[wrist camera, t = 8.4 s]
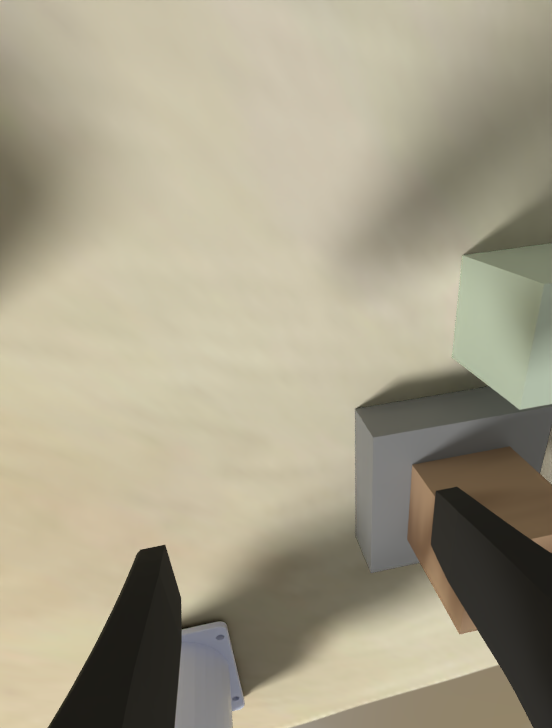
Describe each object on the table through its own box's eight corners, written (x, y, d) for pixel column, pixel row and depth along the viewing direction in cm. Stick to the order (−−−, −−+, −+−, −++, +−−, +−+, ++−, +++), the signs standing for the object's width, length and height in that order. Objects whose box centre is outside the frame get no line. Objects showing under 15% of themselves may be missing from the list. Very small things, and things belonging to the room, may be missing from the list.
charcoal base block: (490, 502, 26) (523, 540, 24) (352, 530, 26) (370, 572, 23) (514, 376, 23) (556, 405, 20) (351, 403, 22) (373, 437, 19)
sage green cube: (543, 341, 21) (634, 388, 17) (450, 356, 21) (519, 409, 16) (564, 240, 19) (675, 264, 15) (461, 254, 19) (543, 284, 14)
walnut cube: (495, 521, 23) (567, 608, 18) (407, 539, 22) (459, 634, 18) (509, 446, 20) (596, 525, 16) (412, 464, 20) (473, 551, 16)
